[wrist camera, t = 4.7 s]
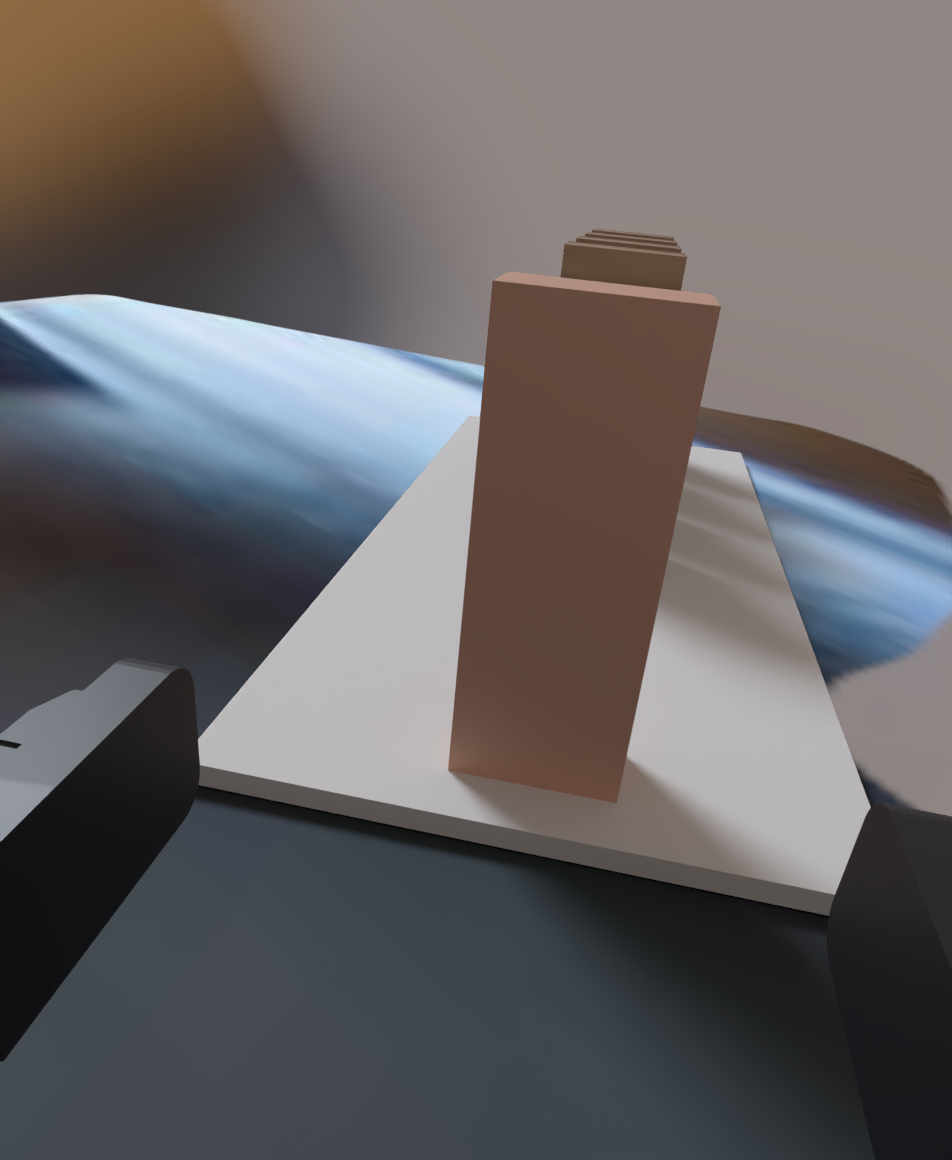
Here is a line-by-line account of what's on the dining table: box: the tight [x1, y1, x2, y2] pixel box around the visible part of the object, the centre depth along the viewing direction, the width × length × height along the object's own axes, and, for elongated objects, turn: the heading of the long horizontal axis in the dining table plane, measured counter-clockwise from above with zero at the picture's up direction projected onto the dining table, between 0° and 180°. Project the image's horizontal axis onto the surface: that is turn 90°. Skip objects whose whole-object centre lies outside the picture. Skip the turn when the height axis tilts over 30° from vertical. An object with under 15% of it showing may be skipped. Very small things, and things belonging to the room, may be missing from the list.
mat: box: [198, 416, 871, 916], centre depth 33 cm, size 34×16×1 cm, turn 169°
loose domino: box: [448, 272, 721, 803], centre depth 18 cm, size 2×4×11 cm, turn 79°
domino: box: [561, 241, 687, 291], centre depth 30 cm, size 2×4×11 cm, turn 79°
